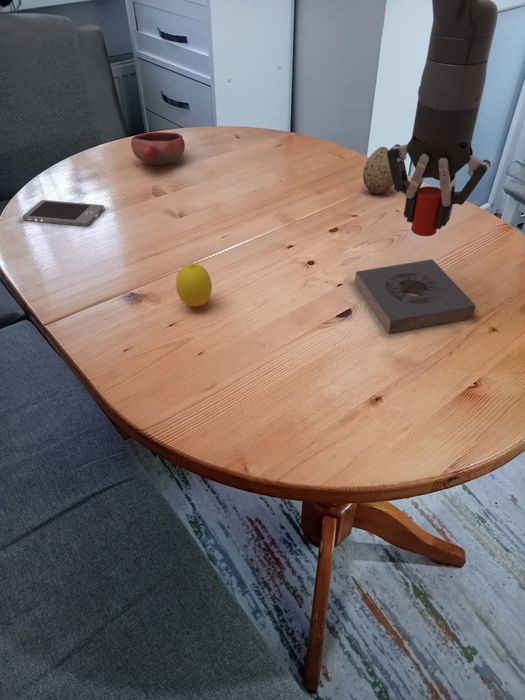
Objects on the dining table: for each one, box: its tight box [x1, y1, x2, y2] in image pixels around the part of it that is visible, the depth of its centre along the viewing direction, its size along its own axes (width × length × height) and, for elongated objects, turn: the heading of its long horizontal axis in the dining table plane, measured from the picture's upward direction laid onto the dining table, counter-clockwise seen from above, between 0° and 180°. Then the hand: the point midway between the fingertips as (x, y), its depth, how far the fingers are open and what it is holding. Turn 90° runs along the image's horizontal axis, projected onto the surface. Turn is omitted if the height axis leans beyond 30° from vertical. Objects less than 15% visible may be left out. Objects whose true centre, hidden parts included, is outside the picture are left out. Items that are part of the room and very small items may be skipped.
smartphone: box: [21, 199, 105, 227], centre depth 113 cm, size 15×8×1 cm, turn 77°
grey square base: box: [354, 258, 477, 335], centre depth 87 cm, size 14×14×2 cm
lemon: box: [175, 263, 213, 308], centre depth 85 cm, size 6×6×8 cm
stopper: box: [410, 185, 442, 237], centre depth 77 cm, size 4×4×6 cm
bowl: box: [130, 131, 186, 166], centre depth 129 cm, size 16×13×8 cm
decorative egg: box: [362, 146, 394, 195], centre depth 115 cm, size 7×7×10 cm
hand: (424, 222), depth 78 cm, fingers closed on stopper, 3 cm apart
